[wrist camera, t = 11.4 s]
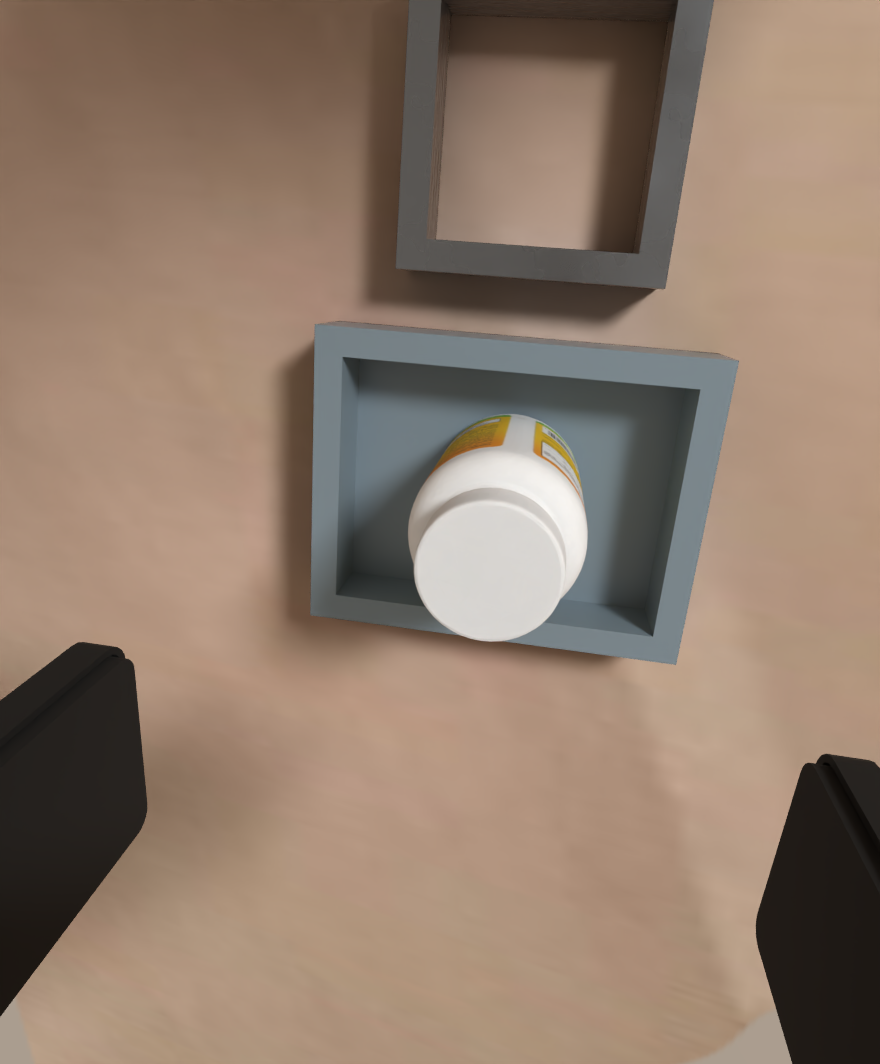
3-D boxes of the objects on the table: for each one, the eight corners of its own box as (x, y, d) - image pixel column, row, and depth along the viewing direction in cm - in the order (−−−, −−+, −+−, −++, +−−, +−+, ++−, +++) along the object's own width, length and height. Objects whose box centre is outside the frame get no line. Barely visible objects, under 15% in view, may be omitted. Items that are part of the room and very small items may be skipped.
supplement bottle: (427, 528, 29) (369, 639, 19) (456, 397, 27) (406, 450, 18) (558, 561, 28) (562, 689, 19) (597, 430, 26) (620, 503, 17)
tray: (339, 321, 27) (315, 324, 24) (718, 353, 25) (739, 361, 23) (332, 585, 31) (310, 615, 28) (663, 628, 29) (676, 664, 26)
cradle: (422, -23, 23) (411, -51, 21) (706, -15, 22) (721, -44, 20) (406, 269, 26) (395, 268, 24) (656, 289, 25) (665, 288, 23)
